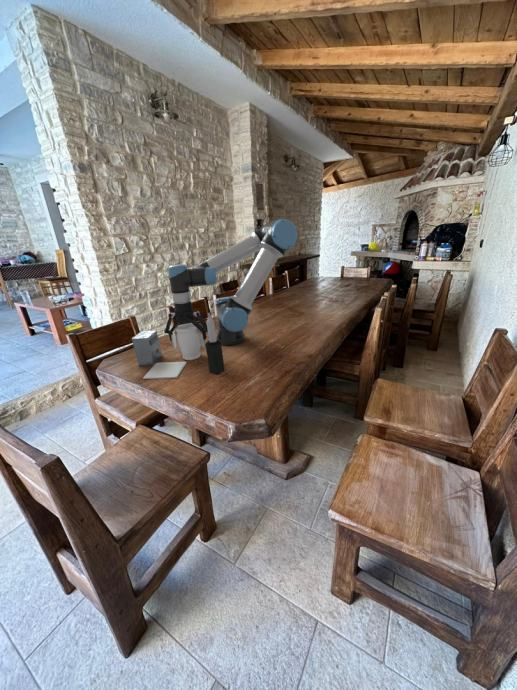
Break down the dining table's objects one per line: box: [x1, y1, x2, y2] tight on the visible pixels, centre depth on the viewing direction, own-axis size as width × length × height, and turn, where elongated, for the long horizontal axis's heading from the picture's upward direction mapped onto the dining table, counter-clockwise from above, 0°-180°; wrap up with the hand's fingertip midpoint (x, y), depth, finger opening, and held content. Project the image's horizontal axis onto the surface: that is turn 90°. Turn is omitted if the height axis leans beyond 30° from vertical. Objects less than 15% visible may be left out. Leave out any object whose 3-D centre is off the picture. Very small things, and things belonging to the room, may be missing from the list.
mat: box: [142, 361, 188, 380], centre depth 118 cm, size 14×14×1 cm
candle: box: [205, 312, 225, 375], centre depth 110 cm, size 5×5×25 cm
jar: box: [174, 322, 202, 361], centre depth 127 cm, size 11×10×15 cm
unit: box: [131, 329, 163, 367], centre depth 127 cm, size 8×10×13 cm
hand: (189, 346), depth 128 cm, fingers open, 13 cm apart
